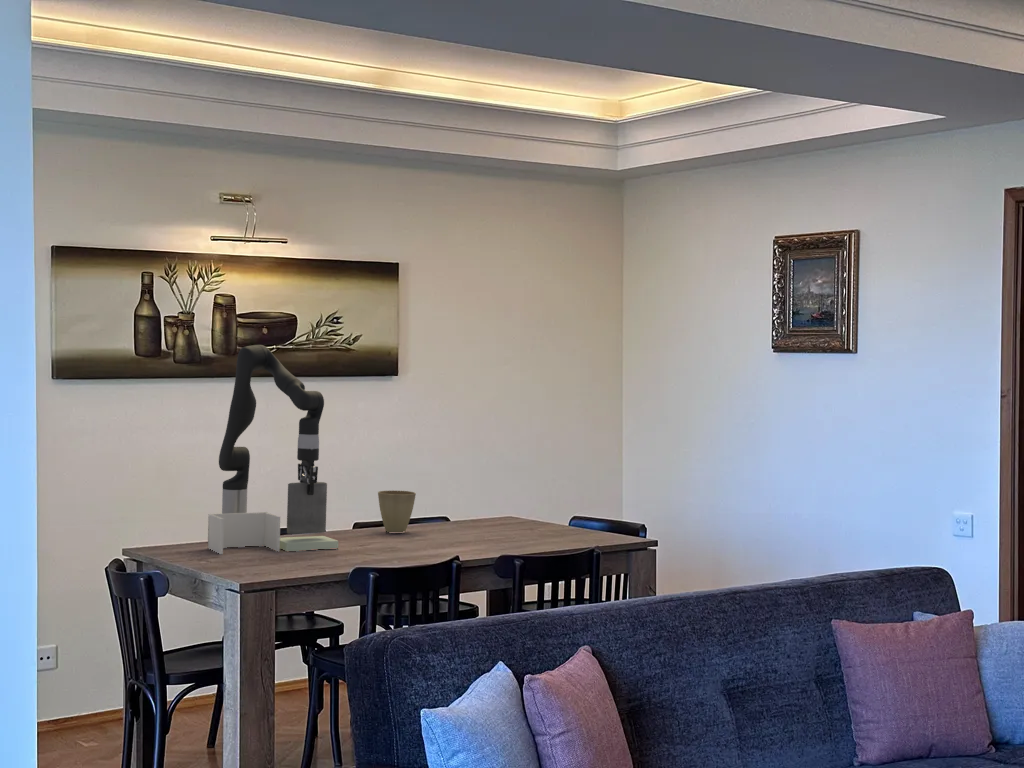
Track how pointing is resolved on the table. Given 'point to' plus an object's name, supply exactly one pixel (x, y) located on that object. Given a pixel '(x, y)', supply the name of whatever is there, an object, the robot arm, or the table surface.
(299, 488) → the flask
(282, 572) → the table surface
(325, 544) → the stand
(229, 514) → the bay
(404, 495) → the plant pot
